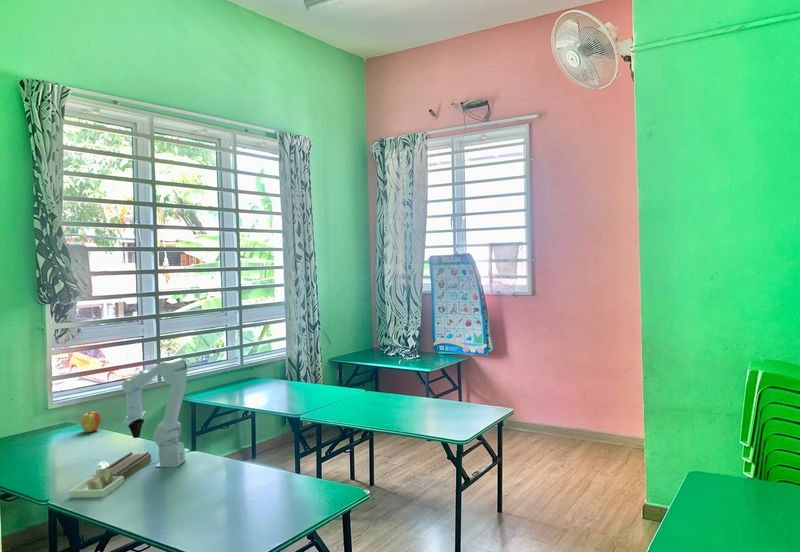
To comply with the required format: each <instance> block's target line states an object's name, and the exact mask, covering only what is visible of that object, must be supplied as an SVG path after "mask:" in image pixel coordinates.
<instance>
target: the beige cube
mask: <svg viewBox="0 0 800 552" xmlns="http://www.w3.org/2000/svg"><path fill="white" fill-rule="evenodd" d="M98 469H99V468H98ZM95 475H103V478H104V482H105V484H109V483H110V481H111V479H112V477H113V474H112V472H111V470H110V469H99V471H98V472H96V474H95ZM105 484H104V485H105Z"/></svg>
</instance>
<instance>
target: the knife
mask: <svg viewBox="0 0 800 552" xmlns="http://www.w3.org/2000/svg"><path fill="white" fill-rule="evenodd" d="M99 462H100V463H99V464H98V466H100V468H96V473H97V472H98V471H99V469H105V468H106V467H108V466H109V465H110V464H109V462H107V461H106V462H105V460H102V461H99Z"/></svg>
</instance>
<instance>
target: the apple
mask: <svg viewBox="0 0 800 552" xmlns="http://www.w3.org/2000/svg"><path fill="white" fill-rule="evenodd" d="M101 418H102V417H101V415H100V414H99V412H97V411H88V412H86V413H85V414H83V415H82V416H81V418H80V425H81V428H82V429H83V431H84V432H85V433H89V432H90V433H93V431H94V432H95V431H97V430H98V429H99V427H100V425H101V422H102V421H101V420H102V419H101Z"/></svg>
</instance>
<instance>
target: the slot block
mask: <svg viewBox="0 0 800 552" xmlns="http://www.w3.org/2000/svg"><path fill="white" fill-rule="evenodd" d="M151 461H152V455H151V453H149V451H146V452H144V453H133V452H132V451H130V452H128V453H127V454H125V455H123V456H122V457H121V458H119V459H118V460H115V461H114V462H113V463H111V464H109V466H108V467H107V466H106V468H105V469H110V470H111V472H112V474H113V476H124V481H125V480H126V479H127V477H128V478H129V477H130V476H132V475H133V474H135V473H136V472H138V470H141V469H142V468H143V467H145V466H146V465H147V464H149V463H150V462H151Z"/></svg>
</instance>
